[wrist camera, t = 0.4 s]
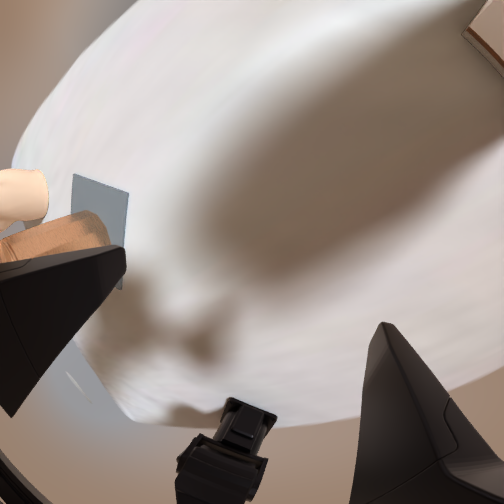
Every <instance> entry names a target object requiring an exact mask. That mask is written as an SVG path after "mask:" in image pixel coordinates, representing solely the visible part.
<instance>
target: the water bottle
mask: <svg viewBox="0 0 504 504" xmlns="http://www.w3.org/2000/svg"><path fill="white" fill-rule="evenodd" d="M48 202H49V195H48V187H47V183H46V180H45V177H44V175H43V173H42V172H41V171H40V170H38V169H36V170H22V169H5V170H1V171H0V233H1V232H3V231H4V230H5V229H7V228H8V227H9V226H10V225H11V224H13V223H14V222H16V221H19V220H20V221H29V220H35V219H39V218H43V217H44V216H45V215H46V213H47V210H48Z"/></svg>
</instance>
